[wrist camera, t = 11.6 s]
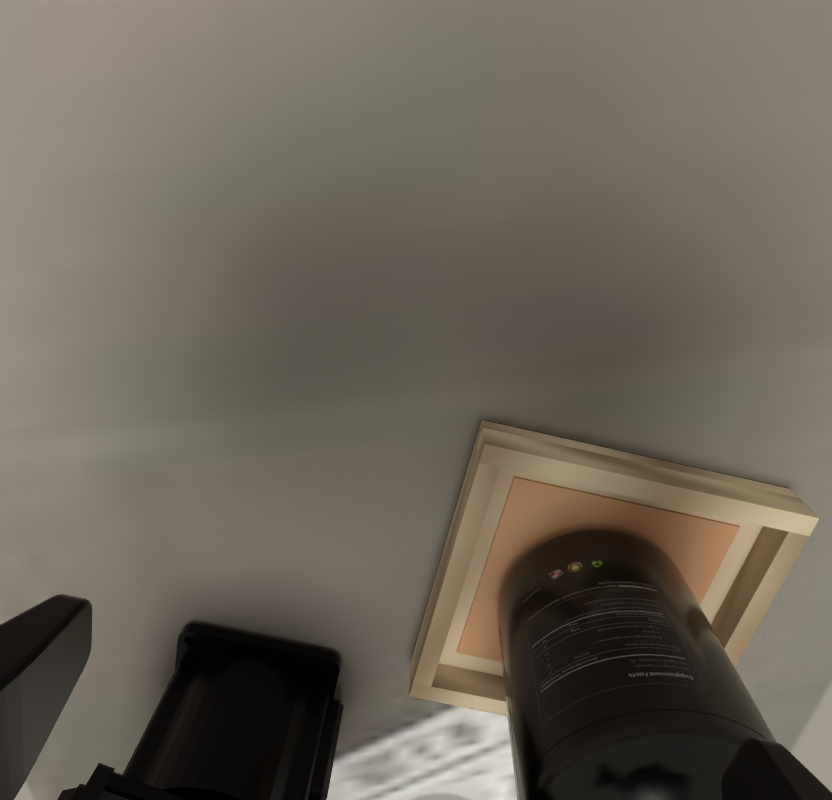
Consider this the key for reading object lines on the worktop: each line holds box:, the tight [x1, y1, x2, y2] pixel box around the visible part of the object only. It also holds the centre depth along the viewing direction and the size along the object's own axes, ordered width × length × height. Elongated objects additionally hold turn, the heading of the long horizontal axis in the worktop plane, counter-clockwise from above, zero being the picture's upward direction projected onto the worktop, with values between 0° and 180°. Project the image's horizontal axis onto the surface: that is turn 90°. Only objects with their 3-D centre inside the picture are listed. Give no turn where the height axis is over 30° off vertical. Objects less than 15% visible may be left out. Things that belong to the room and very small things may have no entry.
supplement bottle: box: [497, 530, 776, 800], centre depth 17 cm, size 7×7×12 cm
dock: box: [409, 420, 820, 716], centre depth 23 cm, size 11×11×2 cm
